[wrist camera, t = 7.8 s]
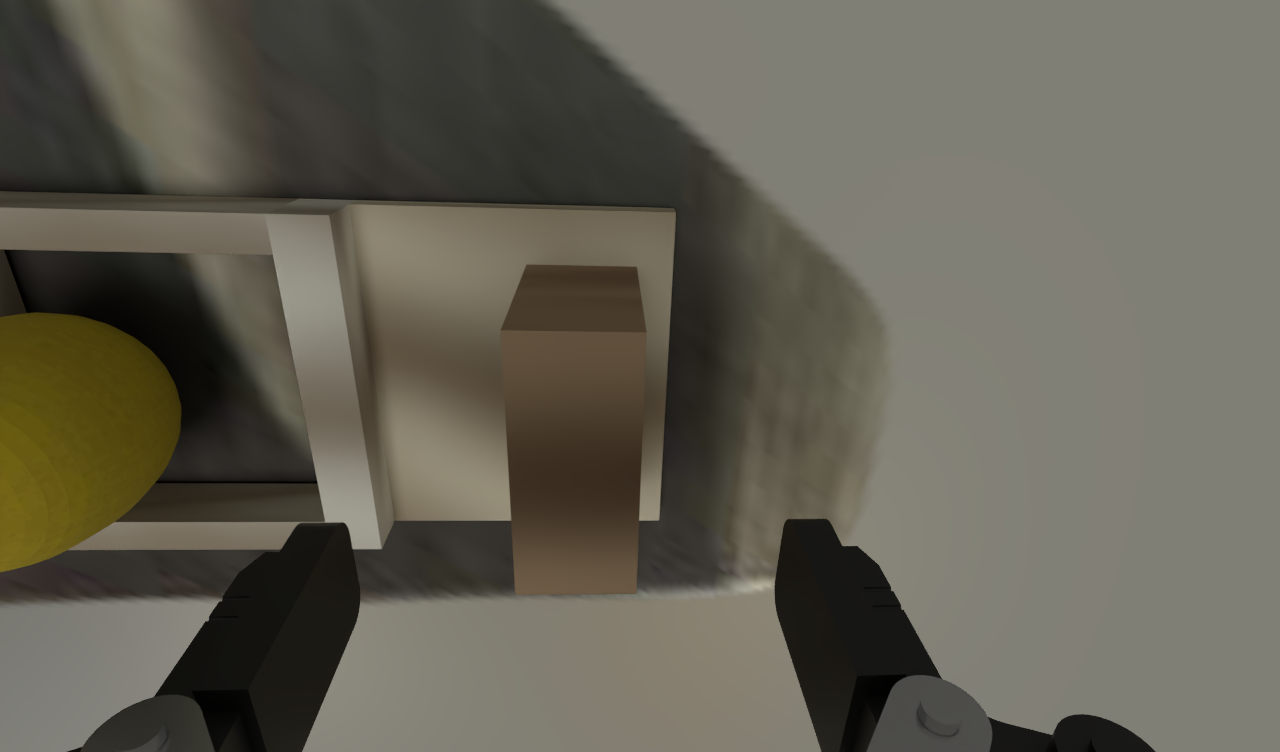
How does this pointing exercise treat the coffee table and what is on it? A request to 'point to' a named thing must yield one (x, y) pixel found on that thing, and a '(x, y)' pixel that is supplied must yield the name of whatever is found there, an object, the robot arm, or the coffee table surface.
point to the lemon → (76, 431)
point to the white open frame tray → (425, 368)
